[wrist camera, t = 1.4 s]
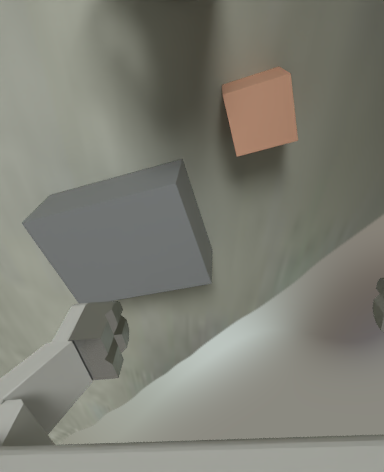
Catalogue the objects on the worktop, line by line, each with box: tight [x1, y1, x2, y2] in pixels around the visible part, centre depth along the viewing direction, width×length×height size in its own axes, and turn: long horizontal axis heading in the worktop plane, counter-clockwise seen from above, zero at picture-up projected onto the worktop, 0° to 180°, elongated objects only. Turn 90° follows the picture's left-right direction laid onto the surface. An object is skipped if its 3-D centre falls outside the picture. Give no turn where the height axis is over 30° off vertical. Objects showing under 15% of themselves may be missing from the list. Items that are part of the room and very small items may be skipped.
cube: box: [222, 67, 298, 157], centre depth 26 cm, size 5×5×5 cm
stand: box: [22, 159, 212, 304], centre depth 33 cm, size 16×12×6 cm
